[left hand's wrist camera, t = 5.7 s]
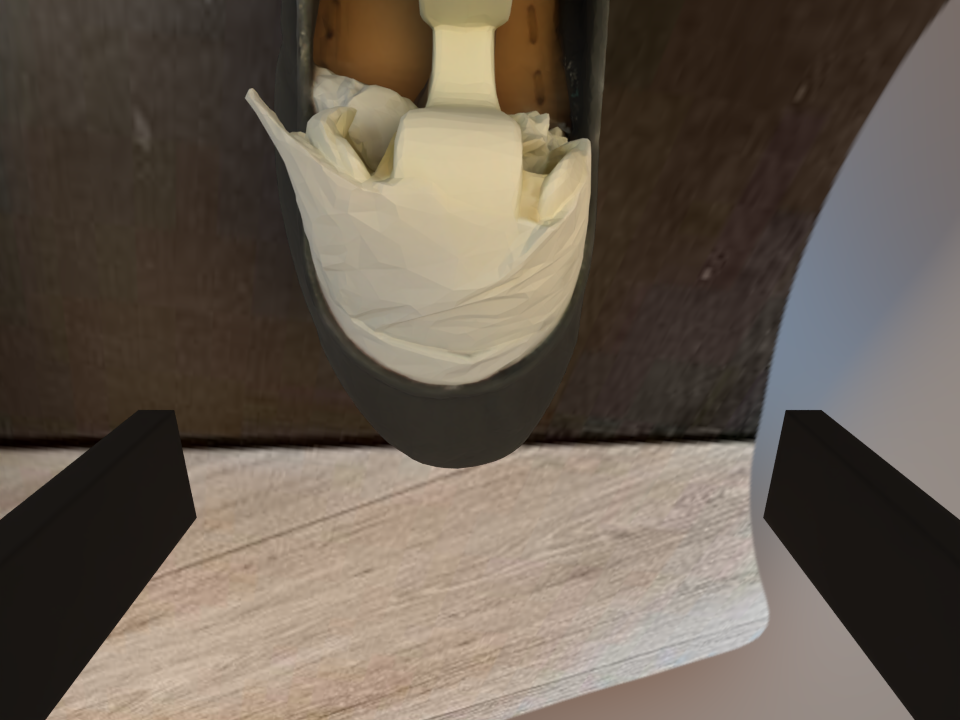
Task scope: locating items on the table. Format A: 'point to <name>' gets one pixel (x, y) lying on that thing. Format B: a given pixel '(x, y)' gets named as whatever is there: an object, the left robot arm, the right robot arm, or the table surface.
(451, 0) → the ballet flat
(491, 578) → the table surface
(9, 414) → the table surface
